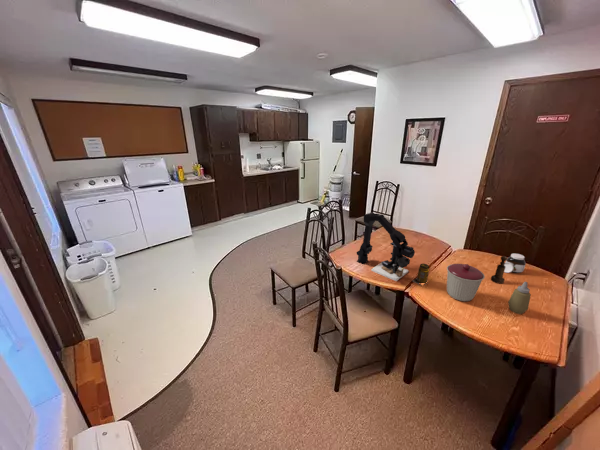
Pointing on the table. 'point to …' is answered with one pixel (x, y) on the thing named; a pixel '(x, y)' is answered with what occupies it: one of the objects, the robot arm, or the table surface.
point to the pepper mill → (499, 272)
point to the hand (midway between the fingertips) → (394, 273)
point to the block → (392, 271)
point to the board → (392, 276)
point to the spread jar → (515, 263)
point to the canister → (463, 281)
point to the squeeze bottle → (520, 299)
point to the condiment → (422, 274)
